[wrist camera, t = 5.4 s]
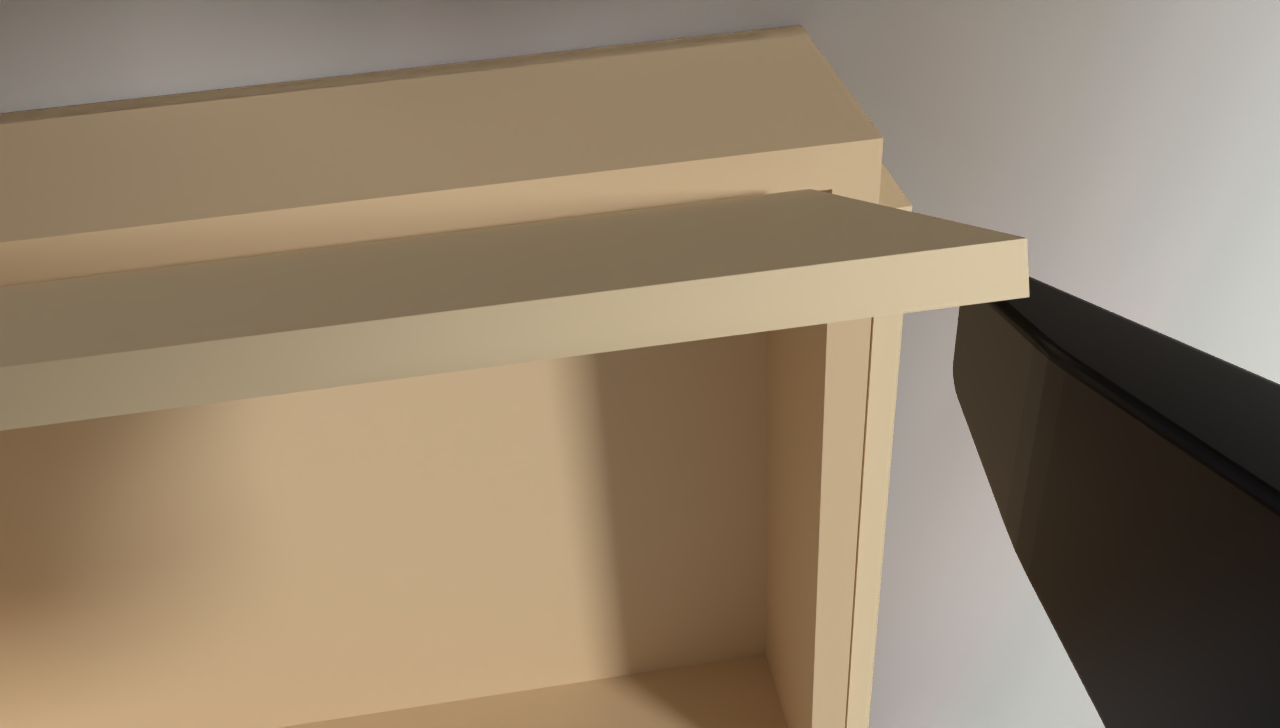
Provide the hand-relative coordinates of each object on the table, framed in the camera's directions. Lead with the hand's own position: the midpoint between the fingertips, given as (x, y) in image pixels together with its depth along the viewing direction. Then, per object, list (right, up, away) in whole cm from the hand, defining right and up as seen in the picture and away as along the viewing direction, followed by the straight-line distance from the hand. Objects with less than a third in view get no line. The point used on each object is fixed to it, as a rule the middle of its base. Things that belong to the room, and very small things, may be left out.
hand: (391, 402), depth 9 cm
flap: (-1, +1, +2) cm, 2 cm away
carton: (-4, -2, +12) cm, 12 cm away
